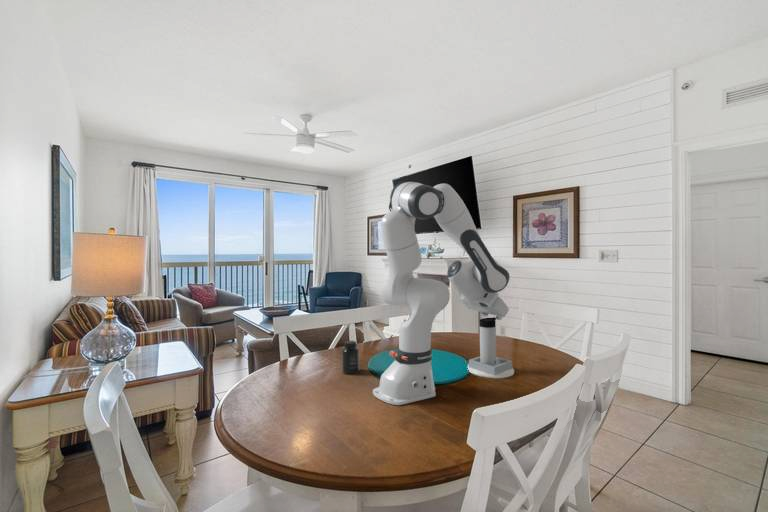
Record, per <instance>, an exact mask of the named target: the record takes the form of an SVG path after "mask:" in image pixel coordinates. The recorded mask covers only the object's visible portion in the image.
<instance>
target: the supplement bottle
mask: <svg viewBox="0 0 768 512" xmlns="http://www.w3.org/2000/svg"><path fill="white" fill-rule="evenodd" d="M359 353H360V352H359V348H357V342H356V341H355V340H346V341H343V348H342V350H341V371H342V373H343V374H346V375H354V374H355V375H356V374H358V373H359V371H360V356H359V355H360V354H359Z"/></svg>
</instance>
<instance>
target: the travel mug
mask: <svg viewBox="0 0 768 512" xmlns="http://www.w3.org/2000/svg"><path fill="white" fill-rule="evenodd" d="M496 321H497V318H496V316H495V317H494V316H493V317H484V318H481V319H479V353H480V354H479V357H480V362H481V363H484V364H488V365H491V366H496V365H497V362H496V357H497V326H496V323H497V322H496Z"/></svg>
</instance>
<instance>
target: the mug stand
mask: <svg viewBox="0 0 768 512" xmlns="http://www.w3.org/2000/svg"><path fill="white" fill-rule="evenodd" d="M496 362H497V365H496V366H491V365H488V364H484V363H481V362H480V356H476V357H474V358H471V359H468V363H467V368H468V369H467V368H466V369H467V371H468V370H469V371H468V372H469V373H471V375H474V376H477V377H481V378H486V379H494V380H496V379H499V380H500V379H507V378H510V377H513V376H514V375H515V369H514V367H513V360H510V359H506V358H501V357H498V356H496Z"/></svg>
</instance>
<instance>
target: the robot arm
mask: <svg viewBox="0 0 768 512" xmlns="http://www.w3.org/2000/svg"><path fill="white" fill-rule="evenodd" d="M388 210H389V212H387V213H386V214H384V215H383V217H381V222H380V229H381V235H382V240H383V245H384V249H385V252H386V256H387V260H388V265H389V275H388V278H387V279H386V280H385V281H384V283H383V284H382V287H381V298H382V299H383V301H384V303H385V304H387V305H390V306H393V307H395V308H400V309H408V310H411V315H410V317H409V318H408V319H405V320H404V321H403V322H401V324H400V326H399V327H398V348H397V350H396V351H394V350H391V351H389V356H390V357H391V358H394V361H393V362H392V363H391V364H390V365H389V366H388V368H386V370H385V371H384V372H383V373H382V374H381V375H380V379H379V386H377V387H375V388H374V389H373V390H372V395H373V396H374V397H375V398H377V399H379V400H380V401H381V402H385V403H387V404H389V405H395V406H402V405H406V404H410V403H415V402H419V401H423V400H426V399H427V400H428V399H430V398H435V397H436V396H437V393H436V386H435V382H434V375H433V368H432V359H433V351H432V347H431V344H432V343H431V341H432V339H431V338H432V336H431V335H432V327H433V322H434V321H435V318H436V317H437V315H438V314H440V312H441V311H443V310H445V308H446V307H447V306H448V304H449V302H450V297H451V294H450V289H449V286H448V285H447V284H446V283H445V282H444V281H441V280H437V279H433V278H423V277H422V278H421V277H419V278H418V277H415V276H414V275H413V272H414V271H415V270H417V269H418V268H419V267H420V265H421V262H422V259H423V258H422V254H421V250H420V245H419V241H418V237H417V234H416V233H417V232H416V231H415V229H416V228H415V226H416V225H415V224H416V220H417V219H418V220H428V219H429V220H430V219H431V218H434V219H435V221H436V223H437V224H438V225H439V227H440V229H441V230H442V231H443V232H444V233H445V234H446V235H447V236H448V237H449V238H450V240H452V241H453V242H454V243H456V244H457V245H458V246H459V247H460V248H461V249H462V250H464V252H465V253H466V254H467V255H468V256H469V258H466V259H464V260H463V259H462V260H456V261H453V262H452V264H450V266H449V267H448V269H447V272H446V273H447V278H448V280H449V282H450V284H451V285H452V287H454V289H455V291H457V292H458V296H460V300H461V302H462V304H463V305H464V306H465V308H467V309H468V310H473V311H477V312H478V313H480V314H481V315H482V316H483V317H488V315H489V314H490V315H494V316H495V318H496V320H498V321H502V319H503V318H505V317H506V316H507V314H508V312H509V310H510V309H509V307H508V305H507V303H505V301H504V300H503V299H502V298H501V297H500V296H499V292H501V291H503V290H505V288H506V287H507V286H508V284H509V282H510V273H509V271H508V270H507V269H506V268H504V267H503V266H502V265H501V264H500V263H499V262H498V261H497V260H496V259H495V258H493V256H492V255H491V252H489V250H488V248H487V247H486V245H485V243H484V242H483V240H482V238H481V236H480V234H479V231H478V229H477V227H476V225H475V223H474V220H473V218H472V215H471V214H470V211H469V209H468V208H467V206H466V204H465V203H464V200H463V199H462V198H461V196H460V195H459V194H458V192H456V190H455V189H454V188H453V186H451V185H450V184H448V183H439V184H436V185H434V186H431V185H428V184H423V183H420V182H418V181H401V182H399V183H398V184H395V185H394V187H392V189H391V192H390V195H389V205H388Z"/></svg>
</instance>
